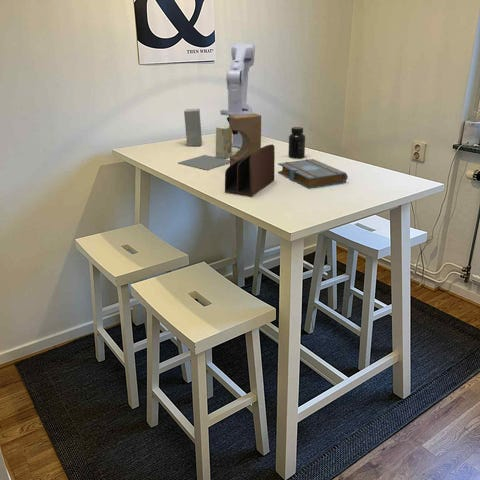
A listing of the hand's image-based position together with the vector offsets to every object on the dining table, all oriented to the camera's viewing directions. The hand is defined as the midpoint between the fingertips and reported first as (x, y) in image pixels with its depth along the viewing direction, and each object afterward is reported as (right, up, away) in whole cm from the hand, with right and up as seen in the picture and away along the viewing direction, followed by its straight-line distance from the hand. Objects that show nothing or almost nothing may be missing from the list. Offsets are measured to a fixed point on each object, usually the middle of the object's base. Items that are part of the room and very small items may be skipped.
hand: (235, 134), depth 203 cm
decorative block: (+4, -17, -16) cm, 24 cm away
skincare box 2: (-5, -10, -2) cm, 11 cm away
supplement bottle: (+26, -10, -1) cm, 28 cm away
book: (+28, -23, -28) cm, 46 cm away
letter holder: (+6, -27, -37) cm, 46 cm away
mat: (-12, -14, -10) cm, 20 cm away
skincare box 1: (-19, -1, +20) cm, 27 cm away
